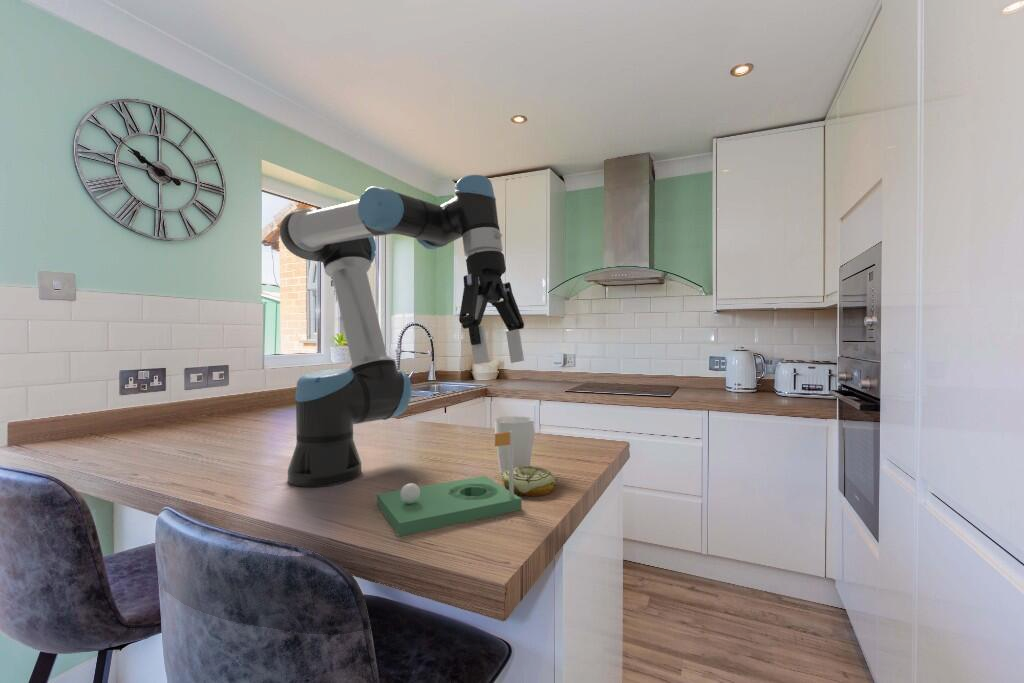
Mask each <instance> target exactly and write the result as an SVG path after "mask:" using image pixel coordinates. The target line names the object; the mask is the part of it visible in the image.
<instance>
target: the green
mask: <svg viewBox="0 0 1024 683" xmlns="http://www.w3.org/2000/svg"><path fill="white" fill-rule="evenodd" d="M503 445H509V490H507V489H506V488H505V486H502V485H501V484H499V483H497V482H496V481H494V480H493V479H490V478H489V477H487V476H485V475H481V476H475V477H469V478H465V479H463V478H462V479H458V480H453V481H447V482H441V483H440V482H439V483H435V484H429V485H422V486H418V487H419V489H420V497H419V499H418V500H417V501H416V502H415V503H412V504H407V503H405V502H403V500H402V499H401V496H400V492H401V489H399V490H398V489H397V490H393V491H388V492H387V491H386V492H380V493H377V494H376V505H377V507H378V506H379V507H378V508H379V510H380V509H381V510H380V511H381V512H382V514H383V513H384V514H383V515H384V516H386V517H385V518H386V519H387V521H388V522H389V523H391V524H390V525H391V527H392V528H393V529H394V531H395V533H397V535H398V536H399V537H402V536H407V535H410V534H415V533H420V532H425V531H429V530H433V529H434V530H435V529H437V528H439V529H440V528H443V527H448V526H452V525H458V524H461V523H462V524H463V523H466V522H470V521H474V520H480V519H483V518H489V517H494V516H498V515H502V514H506V513H507V514H508V513H511V512H516V511H521V510H522V497H520V496H518V494H514V431H509V432H504V433H496V434H495V433H494V447H497V446H503Z"/></svg>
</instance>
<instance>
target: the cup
mask: <svg viewBox="0 0 1024 683" xmlns="http://www.w3.org/2000/svg"><path fill="white" fill-rule="evenodd" d="M494 423H495V424H494V425H495V426H494V435H495V434H496V433H504V432H509V431H514V468H516V467H520V466H531V460H532V453H533V445H534V440H535V438H534V437H535V425H534V424H535V422H534V419H533V418H531V417H526V416H518V415H517V416H516V415H515V416H514V415H513V416H500V417H497V418H496V419H495V422H494ZM496 453H497V459H498V460H497V461H498V466H499V473H500V474H502V475H503V473H504V472H505V471H507V470H509V445H503V446H496Z"/></svg>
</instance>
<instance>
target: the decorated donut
mask: <svg viewBox="0 0 1024 683" xmlns="http://www.w3.org/2000/svg"><path fill="white" fill-rule="evenodd" d="M501 478H502V479H501V480H502V482H503V485H504V486H503V487H504V488H505V489H507V490H509V470H507V471H505V472H504V473H503V474H502V477H501ZM555 485H556V477H555V475H554V474H553V473H552V472H551V471H549V470H548V469H545V468H543V467H538V466H531V465H530V466H520V467H516V468H514V494H515V495H517V496H518V495H522V496H527V497H536V496H537V497H539V496H546V494H547V495H549V494H550V493H551V492H552V491H553V490H554V488H555Z"/></svg>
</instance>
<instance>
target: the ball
mask: <svg viewBox="0 0 1024 683" xmlns="http://www.w3.org/2000/svg"><path fill="white" fill-rule="evenodd" d="M419 487H420V486H418V485H417V484H415V483H413V482H409V483H406V484H404V485H403V486H402V487H401V489H400V490H401V492H400V496H401V499H402V500H403V502H405V503H407V504H412V503H415V502H416V501H417V500H418V499H419V497H420V489H419Z"/></svg>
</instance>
